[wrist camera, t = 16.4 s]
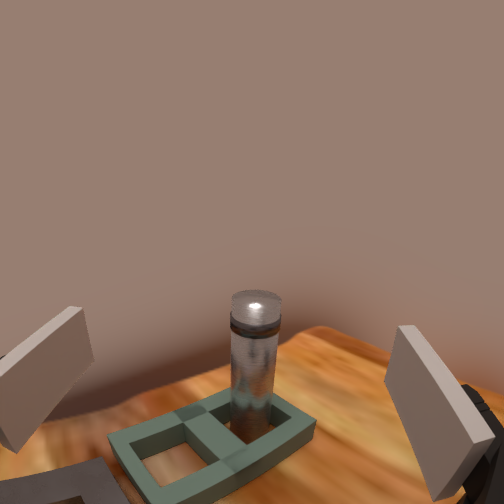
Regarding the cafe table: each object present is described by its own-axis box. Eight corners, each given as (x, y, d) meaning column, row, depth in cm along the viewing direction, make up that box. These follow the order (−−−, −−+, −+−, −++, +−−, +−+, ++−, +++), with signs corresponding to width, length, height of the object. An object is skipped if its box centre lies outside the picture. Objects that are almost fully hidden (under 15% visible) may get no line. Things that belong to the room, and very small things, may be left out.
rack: (312, 438, 29) (316, 420, 28) (163, 526, 17) (157, 511, 17) (249, 396, 36) (250, 377, 36) (113, 453, 25) (106, 434, 24)
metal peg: (277, 436, 30) (293, 300, 26) (247, 454, 27) (254, 313, 23) (251, 416, 33) (258, 286, 29) (221, 432, 30) (220, 296, 26)
